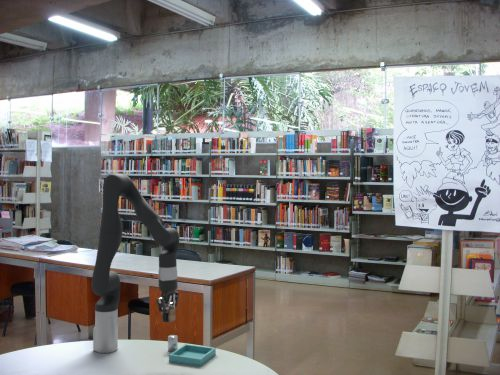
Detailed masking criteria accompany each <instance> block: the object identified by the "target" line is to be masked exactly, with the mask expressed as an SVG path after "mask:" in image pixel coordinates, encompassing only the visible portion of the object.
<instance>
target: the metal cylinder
mask: <svg viewBox="0 0 500 375" xmlns="http://www.w3.org/2000/svg"><path fill="white" fill-rule="evenodd" d="M178 338H179V336H178V335H177V334H176V335H175V334H170V335H168V336H167V352H169V353H173V352H174V351H176V350H177V349H179V346H178V344H179V343H178V342H179V341H178Z"/></svg>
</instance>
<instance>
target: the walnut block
mask: <svg viewBox="0 0 500 375" xmlns="http://www.w3.org/2000/svg"><path fill="white" fill-rule="evenodd" d="M168 320H169V321H168V322H167V323H170V324H171V323H173V322H174V321H176V307H175V308H173V307H169V310H168ZM161 322H162V323H164V322H163V313H162V312H161Z"/></svg>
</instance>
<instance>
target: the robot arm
mask: <svg viewBox="0 0 500 375" xmlns="http://www.w3.org/2000/svg"><path fill="white" fill-rule="evenodd" d="M120 197H123V198H124V199H126V200H127V201H128V202H129V203H130V204H131V205H132V207H133V209H134V213H135V215H136V217H137V219H138V220H139V221H140V223H142V225H143V226H144V227H145V228H146V229H147V230H148V232H149V234H150V236H151V237H152V239H153V240H154V242H155V243H156V244H157V245H158V246H161V247H163V248H162V249H163V250H162V251H161V252H160V253H159V256H158V290H159V291H161V293H160V297H157V298H156V302H157V307H158V311H159V313H161V314H162V313H163V322H162V323H169V322H168V321H169V320H168V310H169V307H173V308H175V309H176V308H177V307H178V304H179V298H180V296H179V295H180V292H178V291H177V290H178V267H177V266H178V265H177V254H178V250H179V246H180V234H179V231H178V230H177V229H176V228H174V227H166V228H165V226H164V225H163V222H164V221H163V218H162V217H161V215H159V213H157V212H156V210H155V209H153V207H152V206H151V205H150V204H149V203H148V202H147V200H146V199H145V198H144V196H143V195H142V194H141V192H140V190H139V189H138V188H137V186H136V185H135V183H134V182H133V180H132V179H131V177H129V175H126V174H123V173H121V174H119V173H118V174H117V173H111V174H108V175H107V176H106V177H105V179H104V180H103V185H102V209H101V210H102V211H101V220H100V225H99V226H100V228H99V235H98V245H97V251H96V252H97V253H96V259H95V264H94V268H93V273H92V276H91V283H90V285H91V290H92V293H93V294H95V295H96V296H100V298H99V299H98V301H97V302H95V305H94V307H95V308H94V314H95V315H94V317H95V322H94V325H95V326H94V327H93V328H92V333H93V334H92V336H93V337H92V341H93V342H92V350H93V351H95V353H99V354H106V353H107V354H108V353H114V352H115V351H117V350H118V348H119V346H118V344H119V343H118V340H119V339H118V338H119V337H118V334H119V332H118V331H119V326H118V324H119V323H118V321H119V319H118V318H119V315H118V314H119V313H118V311H119V310H118V309H119V303H120V299H121V279H120V276H119V273H117V272H116V271H114V270H111V267H112V262H113V260H114V258H115V256H116V254H117V252H118V250H119V248H120V246H121V244H122V239H123V229H124V227H123V222H122V219H121V216H120V214H119V202H120V200H119V199H120Z"/></svg>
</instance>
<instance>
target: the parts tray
mask: <svg viewBox="0 0 500 375" xmlns="http://www.w3.org/2000/svg"><path fill="white" fill-rule="evenodd" d="M216 352H217V351H216V348H215V347H208V346H202V345H201V346H200V345H193V344H187V343H185V344H183V345H182V346H180V347H178V349H177V350H176V351H174V352H170V353H169V354H168V362H170V363H175V364H177V363H178V364H181V365H182V364H183V365H190V366H194V367H195V366H197V367H202V366H203V365H204V364H206V363H207V362H209V360H211V359H212V358H213V357H214V356H216V354H217V353H216Z"/></svg>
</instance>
